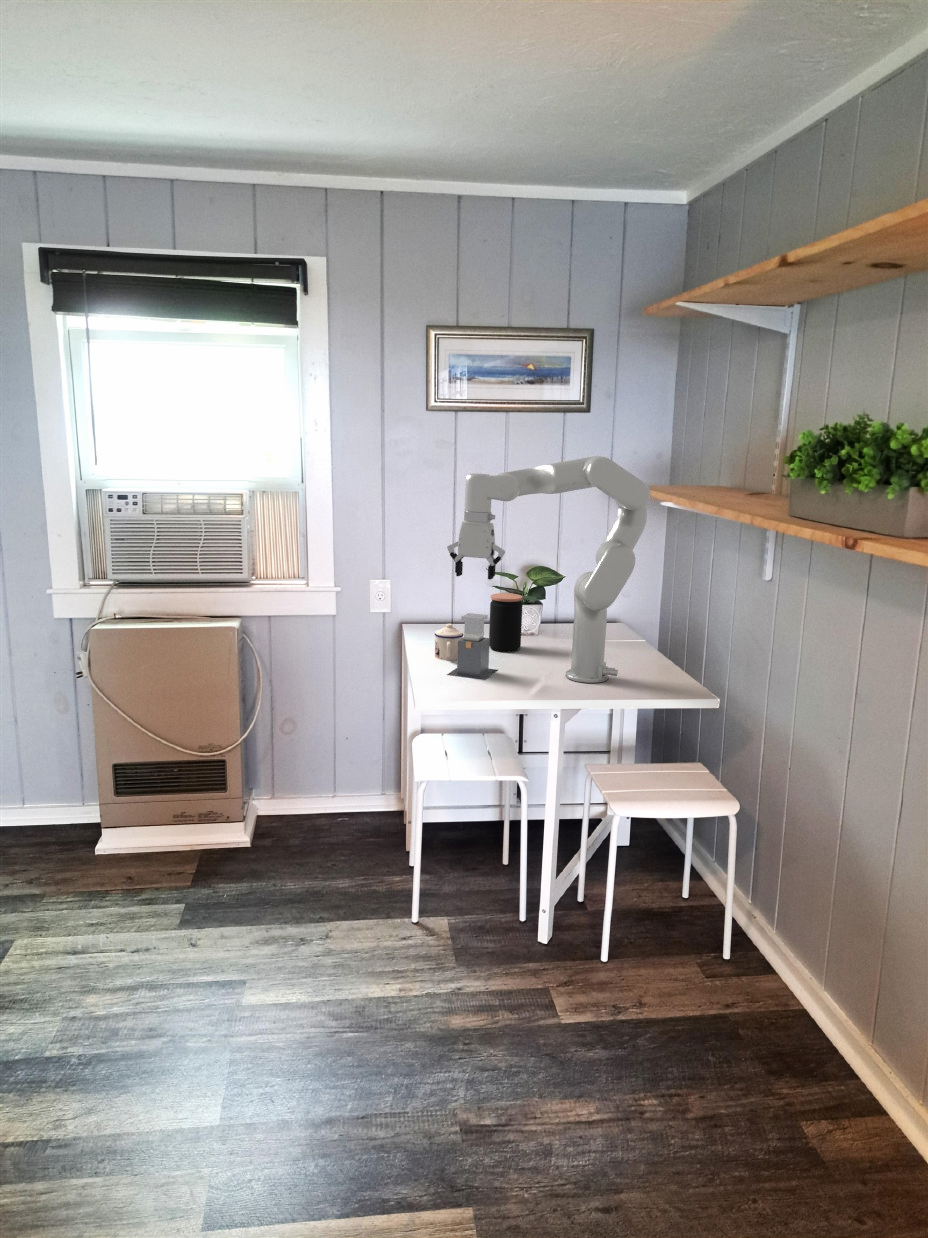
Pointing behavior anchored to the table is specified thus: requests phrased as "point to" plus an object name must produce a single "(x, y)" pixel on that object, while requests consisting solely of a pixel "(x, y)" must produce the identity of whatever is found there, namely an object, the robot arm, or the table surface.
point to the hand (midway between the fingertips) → (474, 577)
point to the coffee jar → (505, 622)
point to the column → (474, 627)
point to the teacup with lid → (447, 642)
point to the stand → (473, 660)
